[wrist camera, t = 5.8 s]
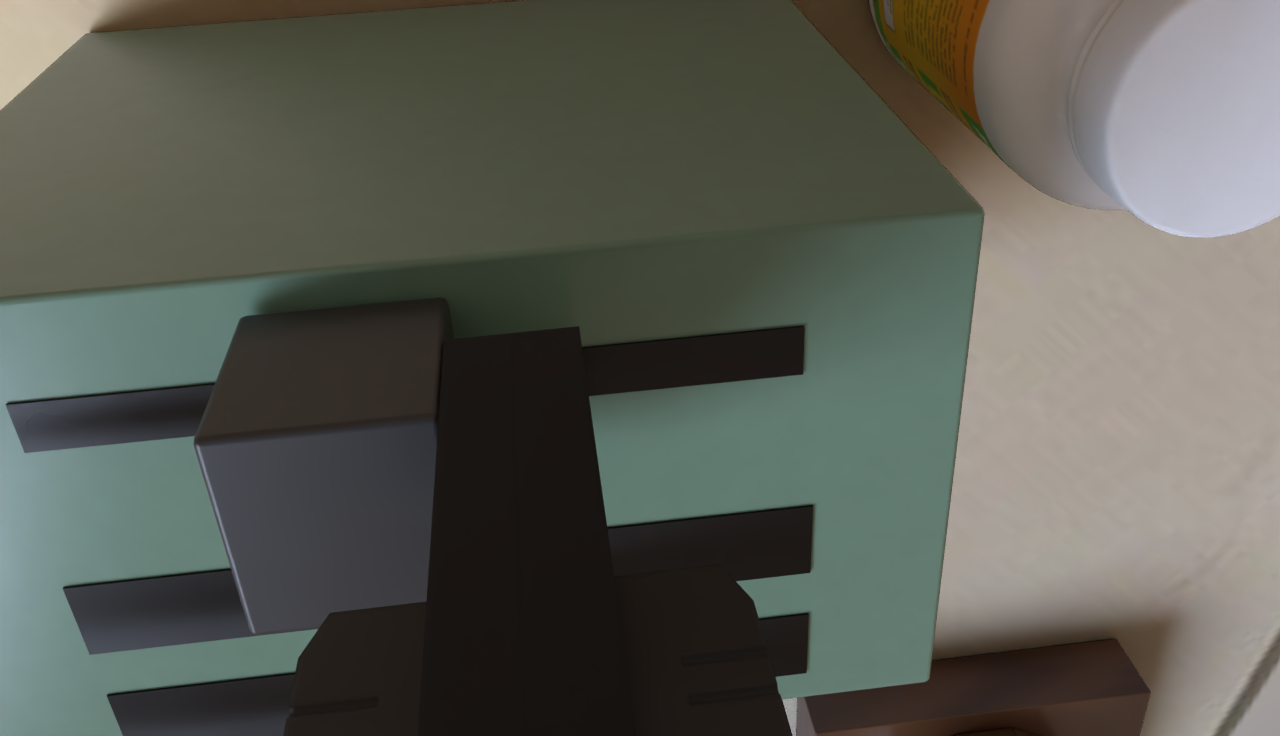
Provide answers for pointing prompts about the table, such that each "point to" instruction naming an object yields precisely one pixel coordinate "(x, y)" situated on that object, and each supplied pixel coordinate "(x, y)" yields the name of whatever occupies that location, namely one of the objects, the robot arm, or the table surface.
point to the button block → (995, 698)
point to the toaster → (476, 316)
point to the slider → (326, 458)
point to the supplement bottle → (1112, 99)
